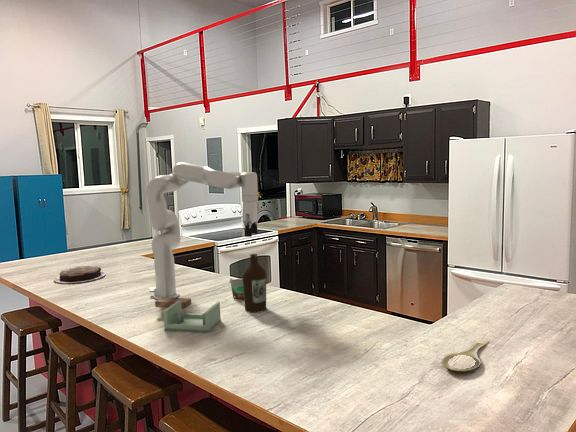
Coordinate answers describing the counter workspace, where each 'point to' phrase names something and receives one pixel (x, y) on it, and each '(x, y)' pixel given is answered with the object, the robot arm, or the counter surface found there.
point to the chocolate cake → (80, 275)
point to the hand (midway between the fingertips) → (251, 234)
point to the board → (172, 302)
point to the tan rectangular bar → (166, 308)
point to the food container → (237, 288)
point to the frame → (191, 319)
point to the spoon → (471, 353)
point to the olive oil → (254, 286)
